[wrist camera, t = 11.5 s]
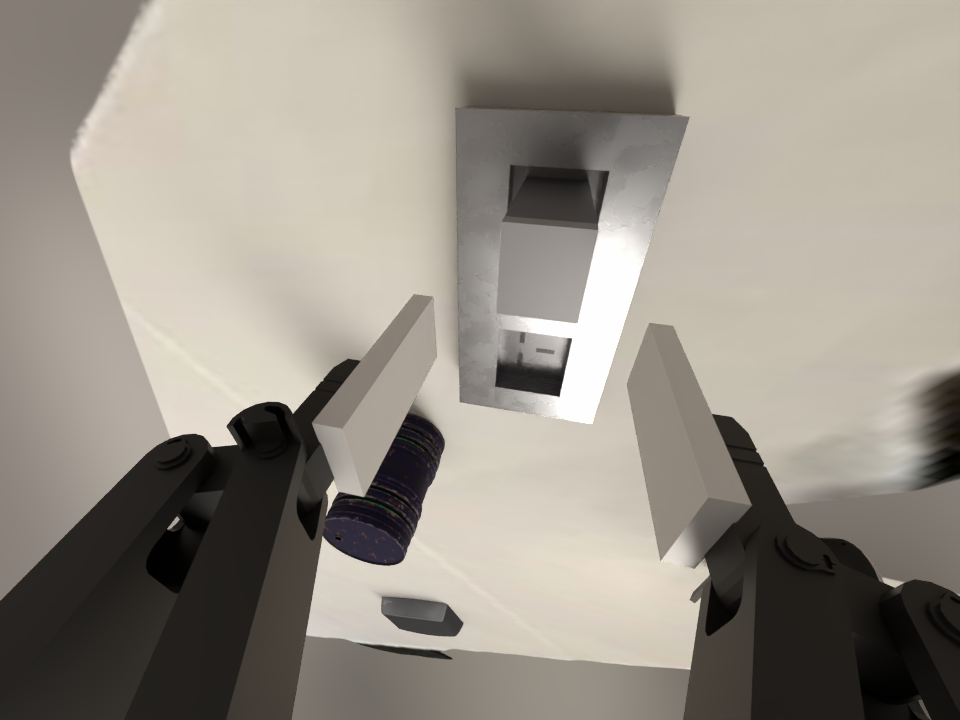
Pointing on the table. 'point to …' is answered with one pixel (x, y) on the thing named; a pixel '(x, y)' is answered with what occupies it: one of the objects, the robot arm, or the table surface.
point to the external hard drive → (421, 616)
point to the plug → (547, 250)
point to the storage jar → (388, 498)
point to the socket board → (616, 259)
